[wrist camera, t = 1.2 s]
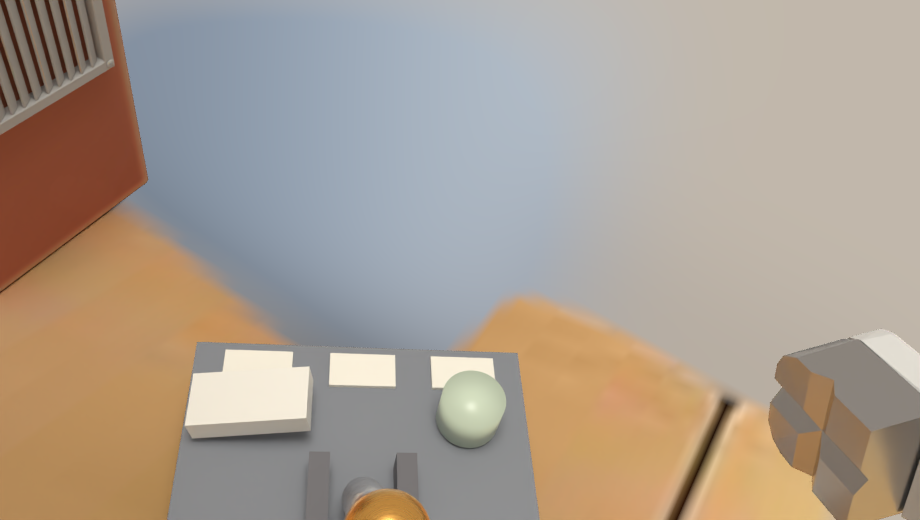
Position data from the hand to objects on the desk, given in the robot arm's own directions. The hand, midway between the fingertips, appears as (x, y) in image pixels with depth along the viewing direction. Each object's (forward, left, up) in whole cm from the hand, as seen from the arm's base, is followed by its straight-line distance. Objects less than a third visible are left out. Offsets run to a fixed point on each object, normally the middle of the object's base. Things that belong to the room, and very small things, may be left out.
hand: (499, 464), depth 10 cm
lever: (-8, +5, -24) cm, 26 cm away
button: (-8, +12, -24) cm, 28 cm away
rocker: (-14, +4, -23) cm, 27 cm away
